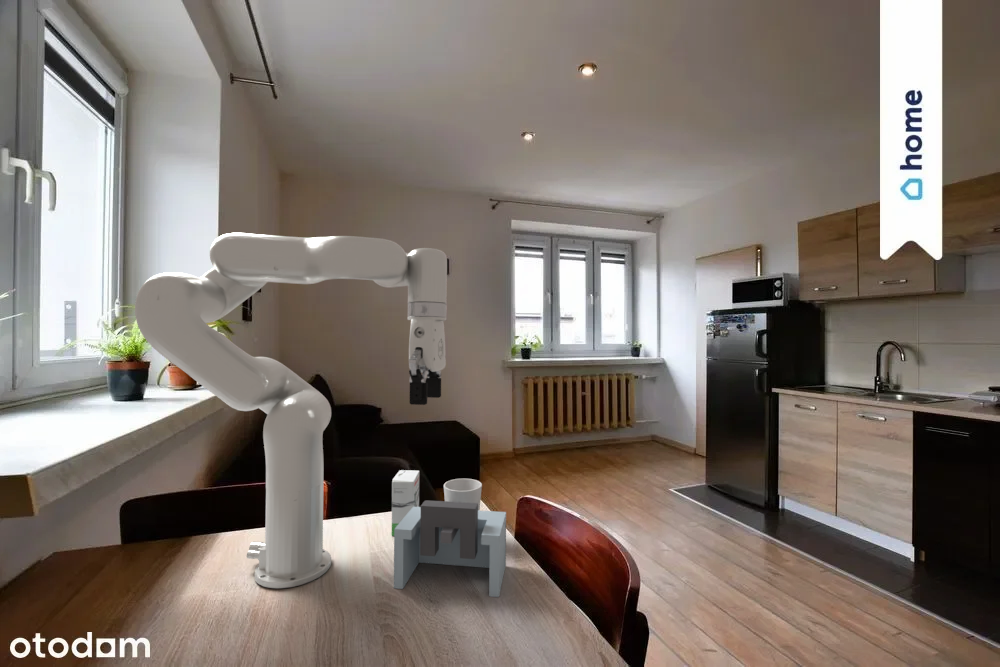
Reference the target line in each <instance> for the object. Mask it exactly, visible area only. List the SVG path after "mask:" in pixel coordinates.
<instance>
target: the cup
mask: <svg viewBox="0 0 1000 667" xmlns="http://www.w3.org/2000/svg"><path fill="white" fill-rule="evenodd" d="M482 488H483V483H482V482H481V481H479V480H477V479H472V478H455V479H450V480H448V481H446V482H445V483H444V484H443V493H444V501H447V502H464V503H478V510H480V511H481V509H480V508H481V500H482Z"/></svg>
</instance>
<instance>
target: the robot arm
mask: <svg viewBox="0 0 1000 667" xmlns="http://www.w3.org/2000/svg"><path fill="white" fill-rule="evenodd" d="M209 259H210V263H211V264H212V266H213V267H212V268H211V269H210V270H208V271H207V272H205V273H204V274H203V275H202V276H200V277H199V276H195V275H193V274H189V273H185V272H177V271H176V272H175V271H173V272H163V273H162V272H161V273H158V274H155V275H153V276H151V277H149V278H148V279H147V280H146V281H144V282H143V283H142V285H141V286H140V288H139V289H138V292H137V294H136V297H135V304H134V315H135V319H136V324H137V327H138V329H139V331H140V333H141V334H142V336H143V338H144V339H145V340H146V342H147V343H148V344H149V345H150V346H151V347H152V348H153V349H154V350H155V351H156V352H158V354H160V355H161V356H162V357H164V358H165V359H167V360H168V361H169V362H171V363H172V364H173V365H174V366H176V367H177V368H179V369H180V370H181V371H183V372H184V373H186V374H187V375H188V376H189V377H190V378H192V379H193V380H194V381H196V382H197V383H198V384H199V385H201V386H202V387H204V388H205V389H206V390H208V391H209V392H210V393H211V394H213V396H215V397H217V398H218V399H219V400H220V401H222V402H223V403H225V404H226V405H228V406H229V407H230V408H232V409H233V410H236V411H241V412H250V411H254V410H257V409H259V410H261V411H262V412H264V413H265V414H266V418H265V420H264V423H263V429H262V430H263V431H262V439H263V445H264V446H263V448H264V456H265V457H264V458H265V528H264V530H265V532H264V534H265V535H264V538H265V539H264V541H252V542H251V543H250V545H249V547H248V548H249V549H248V551H247V553H246V559H251V560H255V559H256V560H258V565H257V567H255V569H254V570H255V571H254V580H255V582H256V583H257V584H258V585H260V586H262V587H264V588H269V589H287V588H288V589H289V588H293V587H297V586H301V585H305V584H308V583H310V582H312V581H315V580H317V579H318V578H320V577H321V576H323V575H324V574H325V573H326V572H327V571H329V569H330V568H331V565H332V555H331V553H330V552H329V551H327V550H326V549H323V546H324V545H323V543H324V542H323V541H324V540H323V537H324V531H323V530H324V469H325V468H324V449H323V448H324V445H323V440H324V438H323V434H324V431H325V430H326V428H327V427H328V425H329V423H330V421H331V418H332V407H331V404H330V402H329V400H328V399H327V398H326V397H325V395H323V393H321V392H320V391H319V390H318V389H316V388H315V387H313V386H312V385H311V384H309V383H308V382H307V381H306V380H304V379H303V378H302V377H300V376H299V375H298V374H297V373H296V372H294V371H293V370H292V369H290V368H289V367H287V366H286V365H284V363H282V362H280V361H278V360H276V359H274V358H271V357H267V356H252V354H249V353H248V352H246V351H244V349H242V348H241V347H239V346H237V345H236V344H235V343H233V342H232V341H231V340H230V339H229V338H228V337H226V336H225V335H223V334H222V333H221V332H219V331H218V330H216V329H214V328H212V327H211V326H210V325H208V324H209V323H213V322H215V321H218V320H220V319H222V318H224V317H225V316H227V315H228V314H229V313H231V312H232V311H233V310H235V309H236V308H237V307H239V306H240V305H241V304H242V303H244V302H245V301H246V300H248V299H249V298H250V297H252V296H253V295H255V293H257V292H258V291H260V289H262V288H263V287H264V286H265V285H266V284H267V283H278V284H279V283H280V284H296V285H297V284H298V285H312V284H313V285H314V284H318V283H321V282H324V281H328V280H337V279H338V280H339V279H340V280H342V279H343V280H365V281H366V280H368V281H373V282H374V284H377V285H378V286H380V287H383V288H399V287H407V321H410V327H409V328H410V329H409V341H408V368H409V370H408V374H409V379H408V380H409V404H410V405H413V406H414V405H417V406H420V405H421V406H426V405H427V404H428V398H431V399H433V398H434V399H435V398H436V399H437V398H441V397H442V370H444V369H445V368H446V366H447V361H446V360H447V358H446V332H445V325H444V323H445V322H446V321H447V310H448V309H447V308H448V307H447V302H448V301H447V298H448V296H447V295H448V293H447V292H448V290H447V289H448V287H447V286H448V284H447V283H448V280H447V279H448V256H447V255H446V252H444V251H443V250H441V249H437V248H430V247H421V248H415V249H412V250H410V252H406V251H405V249H404V248H403V247H402V246H401V245H400V244H398V243H397V242H396V241H393V240H390V239H385V238H380V237H378V238H377V237H367V236H366V237H365V236H356V235H355V236H353V235H332V236H316V237H315V236H314V237H304V236H303V237H300V236H299V237H298V236H287V235H286V236H285V235H274V234H260V233H258V234H256V233H248V232H247V233H246V232H231V233H224V234H222V235H220V236H218V237H217V238H215V239H214V241H213V242H212V244H211V245H210V249H209Z"/></svg>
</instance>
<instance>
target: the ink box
mask: <svg viewBox="0 0 1000 667" xmlns="http://www.w3.org/2000/svg"><path fill="white" fill-rule="evenodd" d="M413 507H420V470H415V469H414V470H411V469H410V470H409V469H408V470H406V469H405V470H404V469H401V470H400V469H399V470H398V472H397V473H396V474H395V476H394V477H393V478H392V481H391V536H392V537H394V529H395V528H396V527H397V525H398V524H399V523H400V522H401V521H402V519H403V518H404V517H405V516H406V515H407V514H408V512H409V511H410V510H411V509H412V508H413Z"/></svg>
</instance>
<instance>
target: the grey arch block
mask: <svg viewBox="0 0 1000 667" xmlns="http://www.w3.org/2000/svg"><path fill="white" fill-rule="evenodd" d="M420 507H421V521H420V555H423V556H435V555H436V553H437V551H438V550H439V527H441V528H457V529H460V558H464V559H475V558H476V555H477V552H478V503H464V502H447V501H445V500H444V501H443V500H426V499H425V500H424V501H423V502H422V504H421V505H420Z"/></svg>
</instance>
